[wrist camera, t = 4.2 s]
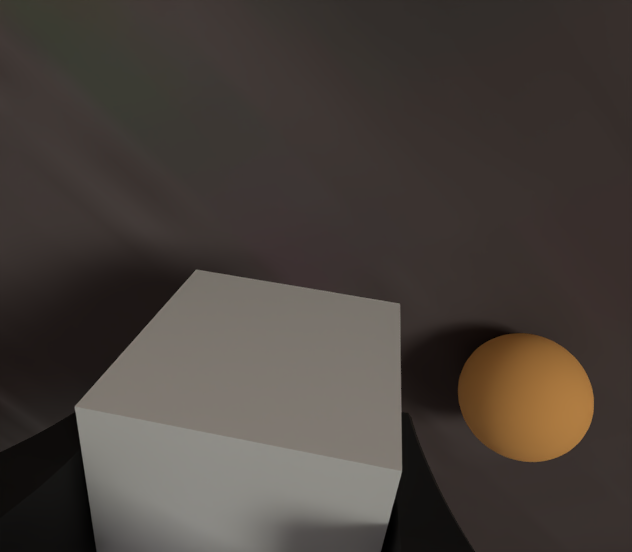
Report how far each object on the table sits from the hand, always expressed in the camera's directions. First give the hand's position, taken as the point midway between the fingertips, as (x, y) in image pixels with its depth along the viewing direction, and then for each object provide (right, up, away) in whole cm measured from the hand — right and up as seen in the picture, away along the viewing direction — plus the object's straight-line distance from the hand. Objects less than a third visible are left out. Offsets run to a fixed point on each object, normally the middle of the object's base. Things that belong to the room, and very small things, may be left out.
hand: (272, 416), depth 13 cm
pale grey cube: (0, +1, +2) cm, 2 cm away
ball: (+10, -1, +6) cm, 11 cm away
